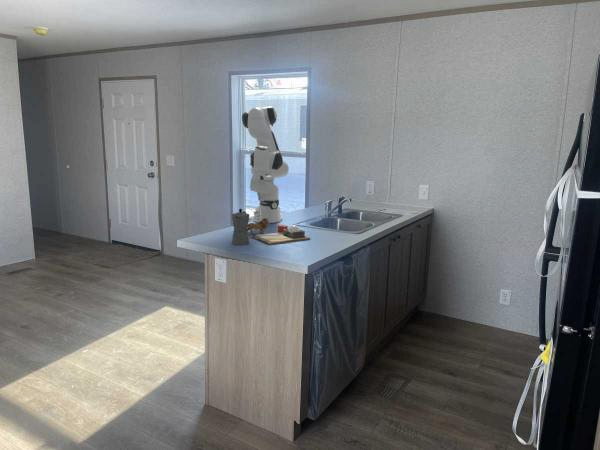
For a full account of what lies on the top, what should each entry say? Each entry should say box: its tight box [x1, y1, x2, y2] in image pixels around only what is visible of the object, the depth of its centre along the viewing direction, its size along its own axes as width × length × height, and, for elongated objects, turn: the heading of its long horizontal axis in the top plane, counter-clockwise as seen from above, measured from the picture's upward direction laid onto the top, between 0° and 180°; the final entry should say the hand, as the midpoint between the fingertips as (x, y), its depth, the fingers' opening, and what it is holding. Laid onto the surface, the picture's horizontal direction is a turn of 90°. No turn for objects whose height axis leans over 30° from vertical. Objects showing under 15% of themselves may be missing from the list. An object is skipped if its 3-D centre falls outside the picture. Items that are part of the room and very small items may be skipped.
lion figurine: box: [247, 218, 270, 236], centre depth 248 cm, size 15×5×9 cm, turn 118°
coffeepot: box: [231, 208, 250, 246], centre depth 227 cm, size 15×9×18 cm, turn 171°
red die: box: [277, 224, 289, 233], centre depth 255 cm, size 4×4×4 cm
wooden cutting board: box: [250, 228, 311, 246], centre depth 240 cm, size 19×26×4 cm
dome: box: [288, 224, 301, 232], centre depth 243 cm, size 6×6×6 cm
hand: (261, 200), depth 246 cm, fingers closed
